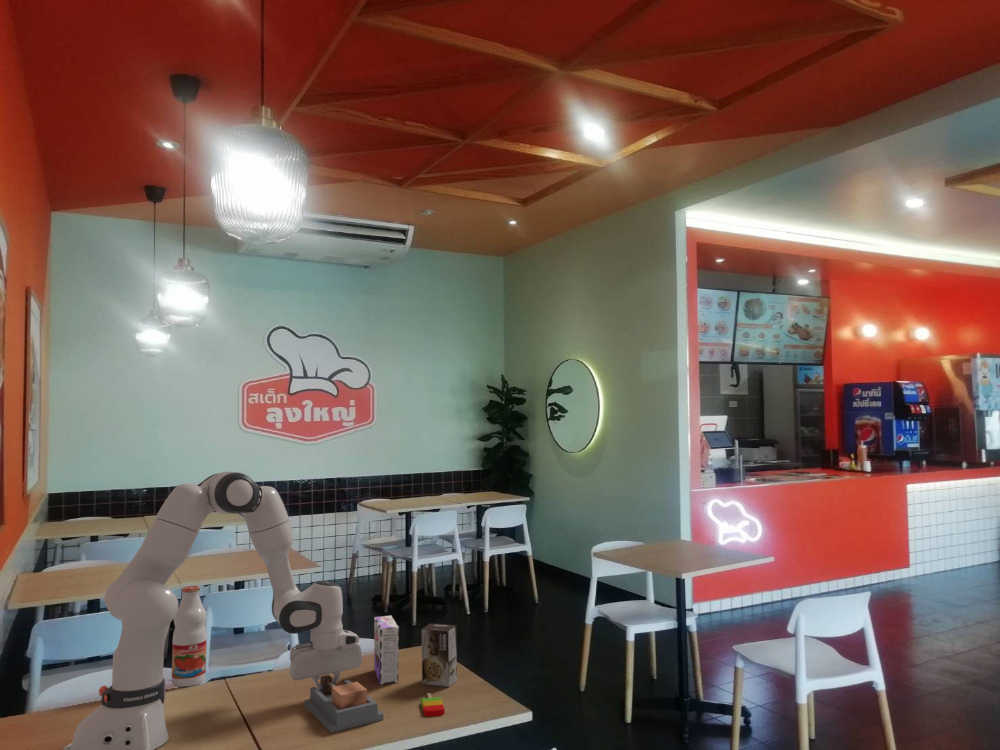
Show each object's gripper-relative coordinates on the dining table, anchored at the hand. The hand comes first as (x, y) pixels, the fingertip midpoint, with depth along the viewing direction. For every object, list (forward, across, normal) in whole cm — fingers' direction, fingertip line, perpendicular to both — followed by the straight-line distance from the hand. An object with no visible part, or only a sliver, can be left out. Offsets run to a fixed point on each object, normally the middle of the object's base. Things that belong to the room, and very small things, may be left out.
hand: (326, 689), depth 195 cm
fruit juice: (+2, -30, +36) cm, 47 cm away
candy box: (+2, +21, +6) cm, 22 cm away
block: (+2, 0, -10) cm, 10 cm away
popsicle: (+3, +22, -22) cm, 31 cm away
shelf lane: (+2, 0, -13) cm, 13 cm away
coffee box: (+2, +32, -8) cm, 33 cm away
